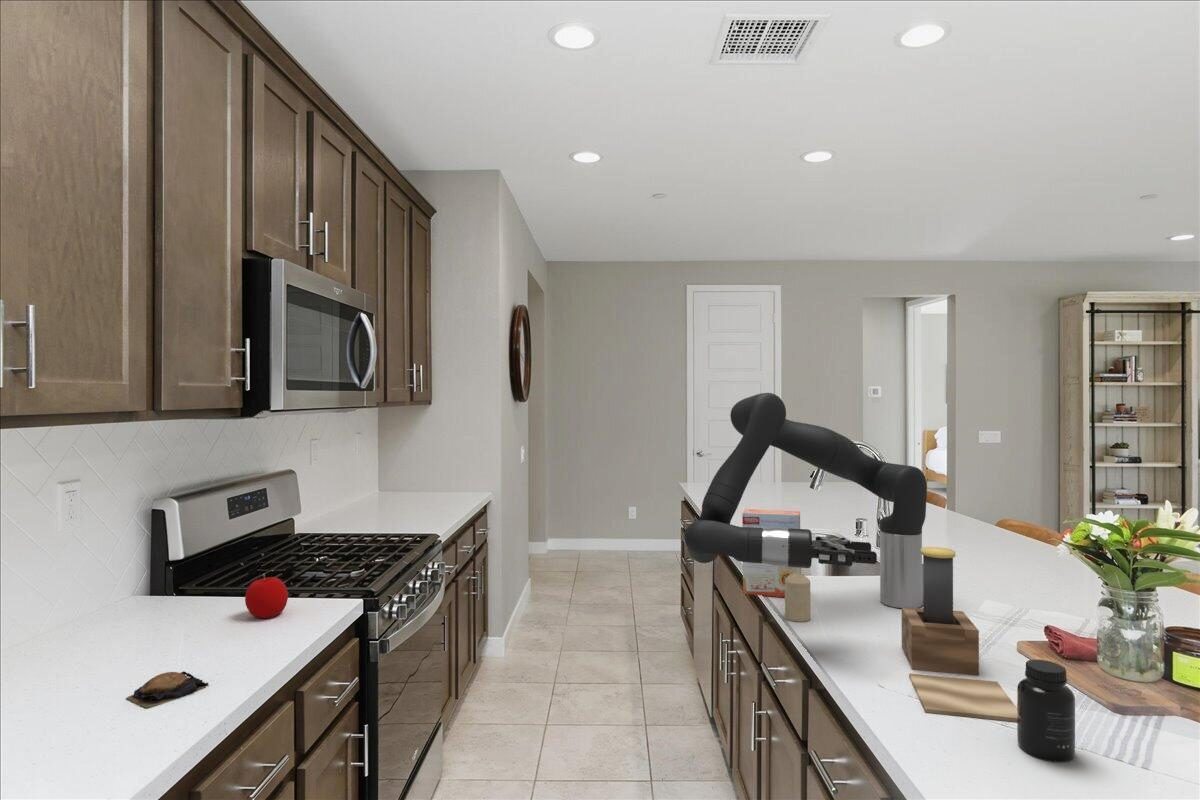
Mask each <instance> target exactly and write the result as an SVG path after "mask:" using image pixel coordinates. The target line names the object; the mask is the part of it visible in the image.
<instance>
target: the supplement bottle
mask: <svg viewBox="0 0 1200 800" xmlns="http://www.w3.org/2000/svg"><path fill="white" fill-rule="evenodd" d="M1024 677H1026V678H1022V679H1021V680H1020V681H1019V682H1018V684H1017V688H1016V689H1017V690H1016V692H1017V693H1016V694H1017V697H1016V698H1017V699H1016V701H1017V703H1016V707H1017V722H1016V723H1017V724H1016V725H1017V727H1016V729H1017V733H1016V734H1017V736H1016V737H1017V743H1018V745H1019V747H1020V748H1021V749H1022V750H1023V751H1025V753H1028V754H1029V755H1031V756H1033V757H1035V758H1038V759H1039V760H1040V759H1041V760H1045V761H1048V762H1056V763H1061V762H1062V763H1063V762H1068V761H1071V760H1072V759H1074V757H1075V755H1076V754H1075V753H1076V696H1075V694H1074V692H1073V690H1071V689H1070V688H1069V686H1068V685H1067V683H1068V679H1067V669H1066V667H1065V666H1063V665H1061V664H1059V663H1057V662H1054V661H1049V660H1044V659H1030V660H1027V661H1026V662H1025V671H1024Z"/></svg>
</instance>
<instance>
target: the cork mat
mask: <svg viewBox="0 0 1200 800" xmlns="http://www.w3.org/2000/svg"><path fill="white" fill-rule="evenodd" d="M908 678H909V680H910V682H911V685H912V687H913V688H914V691H915V693H916V696H917V697H918V700H919V702H920V704H921V706H922V709H923V710H924V713H926V714H927V713H928V714H938V715H947V716H957V717H965V718H974V719H975V718H977V719H986V720H995V721H1004V722H1005V721H1006V722H1014V723H1017V705H1015V703H1014V702H1013V701H1012V699H1011V698H1010V697H1009V696H1008V695H1009V694H1007V693H1006V691H1005V690H1004V689H1003V687H1002V686H1001V685H1000V683H999V682H998V681H994V680H985V679H973V678H964V677H963V678H962V677H952V676H951V677H950V676H941V675H940V676H939V675H931V674H929V675H928V674H921V673H920V674H919V673H908Z"/></svg>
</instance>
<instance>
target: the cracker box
mask: <svg viewBox="0 0 1200 800" xmlns="http://www.w3.org/2000/svg"><path fill="white" fill-rule="evenodd" d="M741 513H742V520H741V521H742V527H754V528H773V527H777V528H794V529H801V511H798V510H797V511H796V510H795V511H794V510H777V509H776V510H774V509H748V508H746V509H745V510H744V511H743V512H741ZM798 572H799V573H801V574H802V568H798V567H785V566H773V565H768V564H763V563H762V564H761V563H747V562H742V592H743V594H744V595H753V596H763V597H764V596H765V597H779V598H785V579H786V578H787V577H788V576H789V575H790V574H792V573H798Z"/></svg>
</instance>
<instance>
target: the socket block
mask: <svg viewBox="0 0 1200 800" xmlns="http://www.w3.org/2000/svg"><path fill="white" fill-rule="evenodd" d="M979 632H980V630H979V629H978V628H977V627H976V626H975V624H974V623H973V622H972V621H971V619H970V618H969V617H968V616H967V615H966V613H965V612H964V611H961V610H953V625H951V624H937V623H924V622H923V608H921V607H919V608H906V607H902V608H901V649H902V651H903V654H904V656H905V658H906V659H907V662H908V664H909V666H910V668H911V670H914V671H915V670H916V671H918V670H919V671H927V672H939V673H949V674H960V675H973V676H979V675H980V633H979Z"/></svg>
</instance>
